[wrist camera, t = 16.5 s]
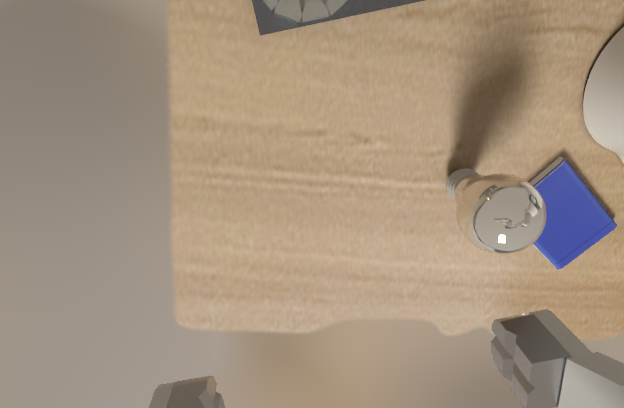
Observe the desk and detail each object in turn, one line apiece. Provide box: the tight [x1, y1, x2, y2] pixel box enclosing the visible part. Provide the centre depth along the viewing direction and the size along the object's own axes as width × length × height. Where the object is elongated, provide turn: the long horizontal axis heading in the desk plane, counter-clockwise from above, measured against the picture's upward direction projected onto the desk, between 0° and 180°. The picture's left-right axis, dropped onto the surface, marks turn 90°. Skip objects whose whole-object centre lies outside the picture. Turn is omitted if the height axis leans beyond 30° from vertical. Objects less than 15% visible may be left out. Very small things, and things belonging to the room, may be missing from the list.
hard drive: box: [529, 157, 617, 269], centre depth 43 cm, size 2×8×12 cm
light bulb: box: [446, 168, 547, 254], centre depth 34 cm, size 7×7×12 cm
